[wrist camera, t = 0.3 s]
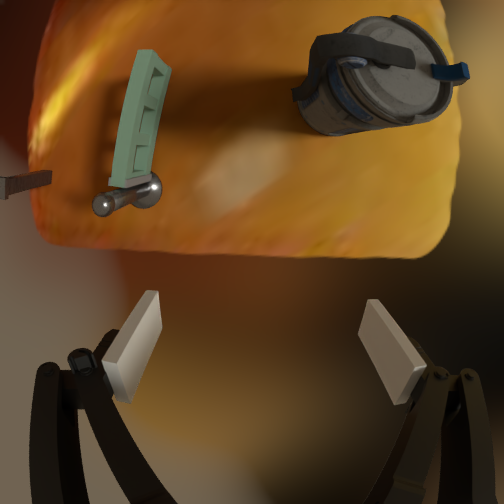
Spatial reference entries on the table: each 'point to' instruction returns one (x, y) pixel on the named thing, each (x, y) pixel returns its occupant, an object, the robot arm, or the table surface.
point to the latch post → (23, 182)
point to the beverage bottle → (376, 78)
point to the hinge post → (128, 197)
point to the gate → (132, 116)
